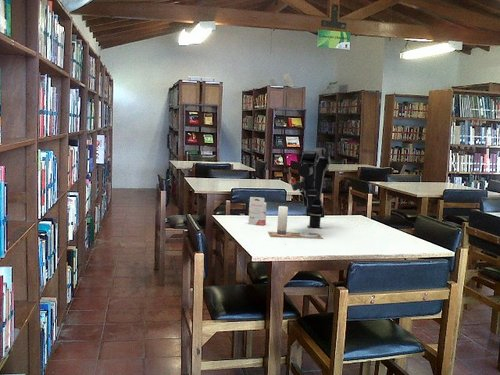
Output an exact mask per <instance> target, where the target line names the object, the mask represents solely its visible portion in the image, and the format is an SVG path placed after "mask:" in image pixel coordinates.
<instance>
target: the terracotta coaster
mask: <svg viewBox="0 0 500 375" xmlns="http://www.w3.org/2000/svg"><path fill="white" fill-rule="evenodd" d="M273 232H274V233H272V235H274V236H280V237H288V236H291V234H290V233H286V235H279V234H277V231H273Z"/></svg>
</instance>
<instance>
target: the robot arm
mask: <svg viewBox="0 0 500 375" xmlns="http://www.w3.org/2000/svg"><path fill="white" fill-rule="evenodd" d="M301 154H302V155H301V158H300V162H299V165H301V166H299V168H298V172H297V173H298V175H299V176H300V177H301V180H298V181H295V182H292V183H291V184H290V186H291V188H292V191H294V192H295V191H299V193H300V195H301V196H302V201H303V206H304V207H306V208H305V209H306V210H305V212H306V214H305V215H306V217H309V222H308V224H309V225H307V227H308V228H309V229H318V230H319V229H320V230H321V229H322V228H323V227H321V219H322V218H325V209H324V204H323V201H322V199H321V198H322V193H323V186H324V180H325V179H324V177H325V174H326V172H327V171H328V169H329V167H330V164H331V156H330V153H328V152H327V151H326V148H324V147H318V146H317V147H314V149H312V150H305V149H304V151H303V152H302V153H301Z"/></svg>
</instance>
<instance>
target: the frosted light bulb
mask: <svg viewBox="0 0 500 375" xmlns="http://www.w3.org/2000/svg"><path fill="white" fill-rule="evenodd" d="M288 209H289V207H288V206H284V205H279V206H278V211H277V226H276V232H277V234H279V235H286V232H287V230H288V228H287V226H288V215H289V214H288V212H289V211H288Z"/></svg>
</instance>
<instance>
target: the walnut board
mask: <svg viewBox="0 0 500 375" xmlns="http://www.w3.org/2000/svg"><path fill="white" fill-rule="evenodd" d="M274 232H275V231H267V233H268V235H269V237H270V238H284V239H287V238H289V239H314V240H315V239H317V240H324V237H322V236H321V235H320V234H319V233H318V232H317V233H316V232H312V233H313V234H317V235H318V237H314V238H310V237H302V236H299V234H300V233H301V232H291V231H289V232H287V231H286V233H290V234H291V236H288V237H280V236H274V235H272V233H274Z"/></svg>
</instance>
